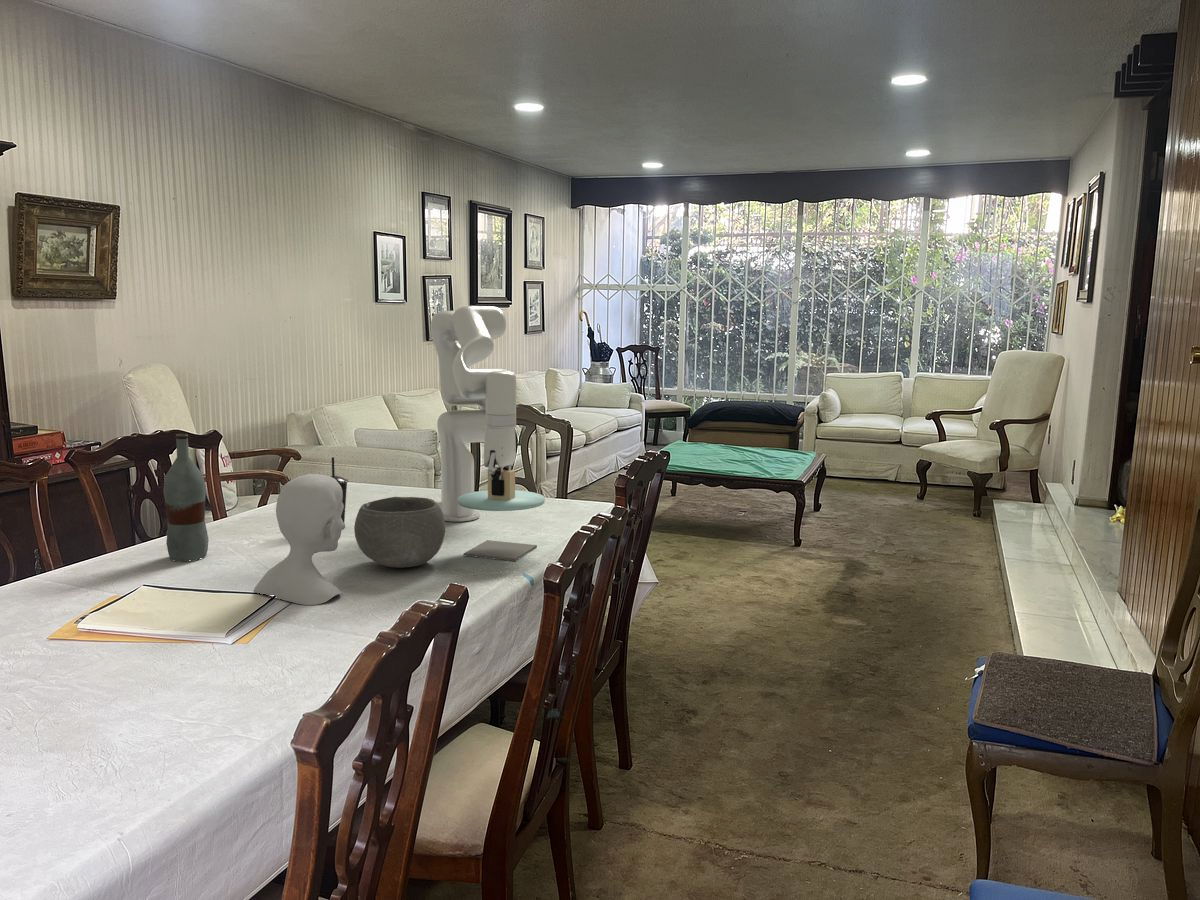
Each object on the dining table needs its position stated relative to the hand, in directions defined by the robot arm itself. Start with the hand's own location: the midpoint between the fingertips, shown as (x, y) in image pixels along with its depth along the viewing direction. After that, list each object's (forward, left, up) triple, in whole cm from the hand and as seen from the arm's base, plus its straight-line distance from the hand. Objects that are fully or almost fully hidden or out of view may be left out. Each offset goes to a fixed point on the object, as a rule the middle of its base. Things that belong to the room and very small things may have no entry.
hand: (501, 493), depth 222 cm
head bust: (-26, -42, -15) cm, 52 cm away
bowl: (-17, -20, -15) cm, 30 cm away
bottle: (-68, -32, -15) cm, 77 cm away
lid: (0, 0, -2) cm, 2 cm away
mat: (0, 0, -15) cm, 15 cm away
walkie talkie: (-52, +5, -15) cm, 55 cm away
